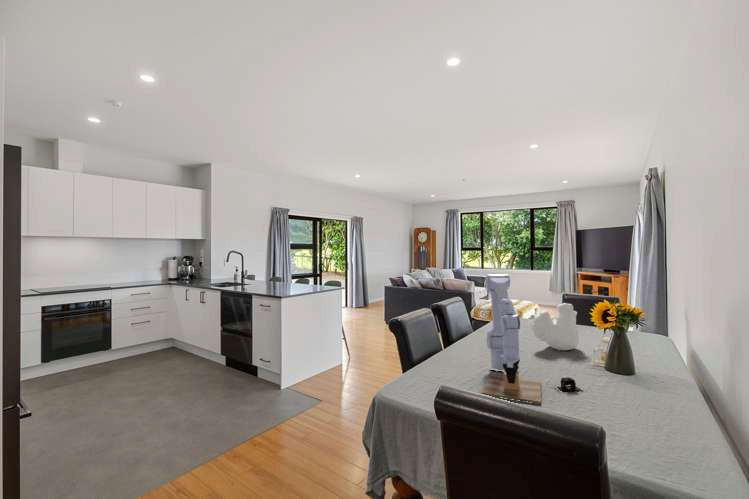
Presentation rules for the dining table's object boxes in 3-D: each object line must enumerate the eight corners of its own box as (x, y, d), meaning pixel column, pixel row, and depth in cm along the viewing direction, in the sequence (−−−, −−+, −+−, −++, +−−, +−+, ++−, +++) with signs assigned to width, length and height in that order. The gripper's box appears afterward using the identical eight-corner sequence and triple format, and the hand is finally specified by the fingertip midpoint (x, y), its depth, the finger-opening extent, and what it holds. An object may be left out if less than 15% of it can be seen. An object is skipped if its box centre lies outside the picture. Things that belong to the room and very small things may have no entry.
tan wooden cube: (505, 383, 134) (504, 369, 134) (519, 384, 132) (518, 370, 132) (504, 388, 130) (503, 373, 130) (518, 390, 127) (518, 375, 127)
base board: (489, 377, 144) (489, 374, 144) (540, 384, 135) (540, 381, 135) (482, 395, 126) (482, 392, 126) (541, 405, 117) (540, 401, 117)
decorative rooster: (572, 344, 188) (571, 300, 188) (586, 353, 173) (584, 305, 173) (526, 344, 192) (524, 301, 192) (535, 352, 176) (533, 305, 177)
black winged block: (558, 395, 126) (557, 383, 126) (547, 387, 133) (547, 376, 133) (590, 393, 127) (589, 381, 127) (577, 385, 134) (577, 374, 134)
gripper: (501, 339, 139) (503, 372, 139) (498, 349, 126) (499, 385, 126) (520, 341, 136) (521, 374, 136) (518, 351, 123) (519, 388, 123)
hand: (512, 380), depth 131 cm, fingers open, 6 cm apart
